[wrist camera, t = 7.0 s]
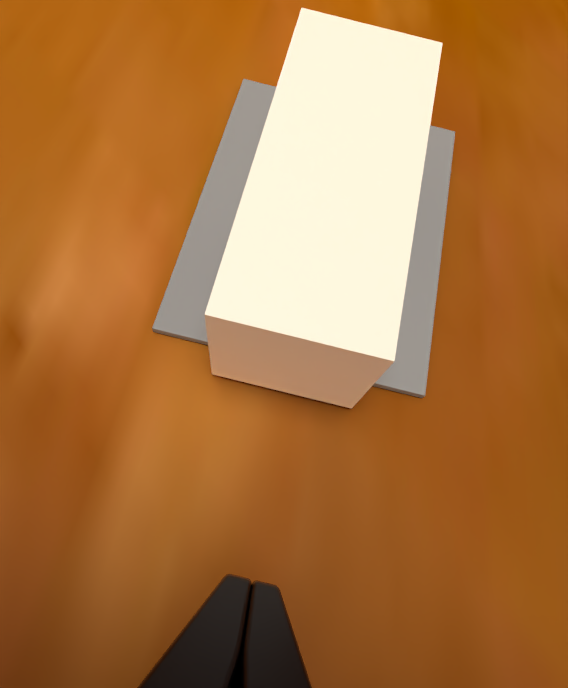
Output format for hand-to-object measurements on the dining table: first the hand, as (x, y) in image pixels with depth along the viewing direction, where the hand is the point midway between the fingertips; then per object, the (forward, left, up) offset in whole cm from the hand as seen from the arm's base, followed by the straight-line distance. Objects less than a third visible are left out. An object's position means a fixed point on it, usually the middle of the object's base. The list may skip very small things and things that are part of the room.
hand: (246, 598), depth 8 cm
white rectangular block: (+6, -2, -5) cm, 8 cm away
